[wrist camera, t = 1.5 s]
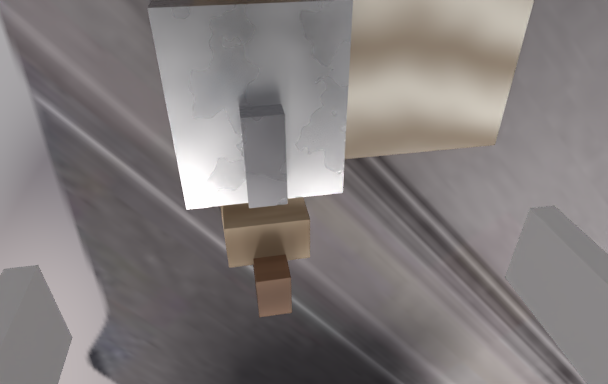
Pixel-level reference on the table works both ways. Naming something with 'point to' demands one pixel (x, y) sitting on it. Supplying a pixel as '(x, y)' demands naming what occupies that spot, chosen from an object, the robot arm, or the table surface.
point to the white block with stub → (255, 96)
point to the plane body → (268, 247)
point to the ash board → (430, 73)
